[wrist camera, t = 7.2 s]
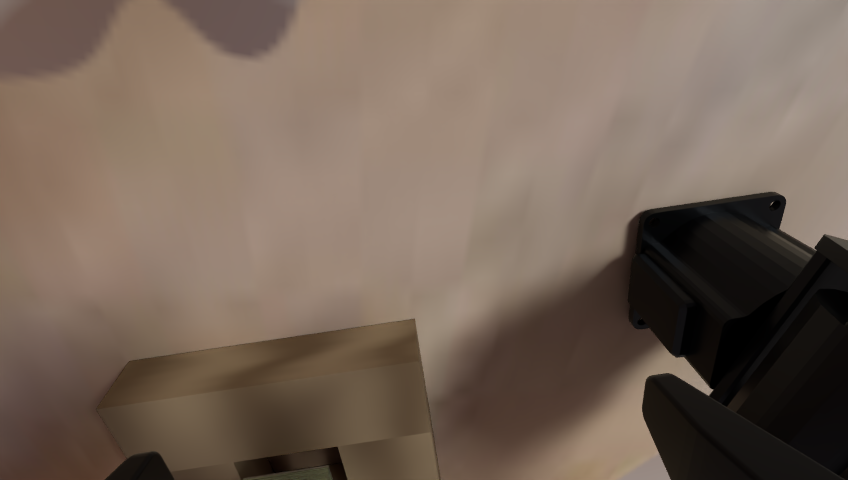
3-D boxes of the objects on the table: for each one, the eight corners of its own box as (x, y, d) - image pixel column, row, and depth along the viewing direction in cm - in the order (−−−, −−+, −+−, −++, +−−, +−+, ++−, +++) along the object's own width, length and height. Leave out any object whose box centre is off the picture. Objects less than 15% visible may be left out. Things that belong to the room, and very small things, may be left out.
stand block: (414, 319, 23) (419, 369, 20) (443, 496, 29) (450, 555, 26) (129, 361, 23) (89, 418, 20) (221, 530, 29) (202, 594, 26)
